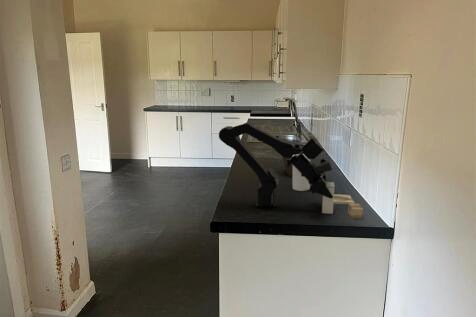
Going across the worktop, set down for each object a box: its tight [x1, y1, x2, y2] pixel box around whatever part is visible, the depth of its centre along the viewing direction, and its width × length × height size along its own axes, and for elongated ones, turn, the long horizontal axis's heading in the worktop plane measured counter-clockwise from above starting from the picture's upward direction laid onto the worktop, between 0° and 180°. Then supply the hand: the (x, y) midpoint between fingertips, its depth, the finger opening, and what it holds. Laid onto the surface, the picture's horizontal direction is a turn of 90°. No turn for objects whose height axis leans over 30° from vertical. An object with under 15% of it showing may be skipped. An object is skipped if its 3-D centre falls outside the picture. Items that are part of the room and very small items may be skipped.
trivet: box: [333, 194, 356, 205], centre depth 154 cm, size 10×10×1 cm
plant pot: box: [282, 143, 305, 177], centre depth 192 cm, size 15×15×16 cm
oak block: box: [347, 203, 364, 220], centre depth 137 cm, size 6×4×4 cm, turn 176°
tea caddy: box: [321, 181, 336, 215], centre depth 141 cm, size 4×6×11 cm
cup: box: [292, 154, 311, 192], centre depth 169 cm, size 8×8×16 cm
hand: (331, 195), depth 140 cm, fingers closed on tea caddy, 5 cm apart
